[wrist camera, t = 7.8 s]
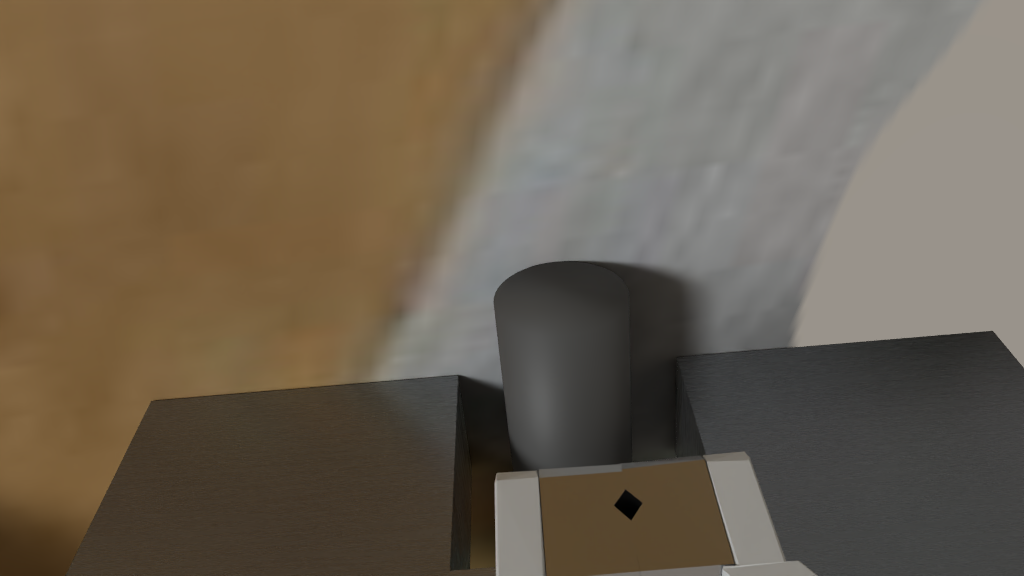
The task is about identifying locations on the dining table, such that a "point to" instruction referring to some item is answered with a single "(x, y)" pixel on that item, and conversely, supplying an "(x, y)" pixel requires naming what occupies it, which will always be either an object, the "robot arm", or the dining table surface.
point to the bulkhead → (699, 431)
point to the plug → (565, 366)
